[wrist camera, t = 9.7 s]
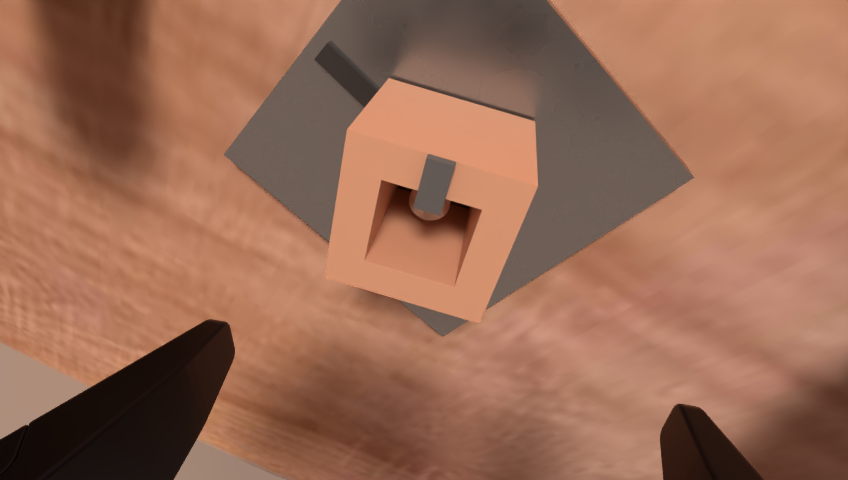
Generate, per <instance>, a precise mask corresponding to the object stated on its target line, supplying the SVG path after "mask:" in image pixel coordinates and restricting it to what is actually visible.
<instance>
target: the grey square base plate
mask: <svg viewBox="0 0 848 480" xmlns="http://www.w3.org/2000/svg"><path fill="white" fill-rule="evenodd" d="M388 78H390V79H394V80H397V81H400V82H404V83H407V84H410V85H414V86H417V87H421V88H424V89H427V90H431V91H434V92H437V93H441V94H444V95H448V96H451V97H454V98H458V99H461V100H465V101H468V102H471V103H475V104H478V105H481V106H485V107H488V108H492V109H495V110H498V111H502V112H505V113H508V114H512V115H515V116H519V117H522V118H525V119H529V120H532V121H535V130H536V152H537V173H538V188H537V190H536V192H535V195H534V197H533V199H532V202H531V204H530V206H529V209H528V211H527V213H526V216H525V218H524V220H523V223H522V225H521V227H520V230H519V232H518V234H517V237H516V239H515V241H514V244H513V246H512V248H511V251H510V253H509V255H508V258H507V260H506V262H505V265H504V267H503V269H502V272H501V274H500V276H499V279H498V281H497V283H496V286H495V288H494V290H493V293H492V295H491V297H490V300H489V302H488V304H487V307H486V309H487V308H489V307H490V306H492V305H493V304H495V303H497V302H498V301H500V300H501V299H503V298H505V297H506V296H508V295H509V294H511V293H512V292H514V291H516V290H517V289H519V288H520V287H522V286H524V285H525V284H527V283H528V282H530V281H531V280H533V279H535V278H536V277H538V276H539V275H541V274H543V273H544V272H546V271H547V270H549V269H550V268H552V267H554V266H555V265H557V264H558V263H560V262H562V261H563V260H565V259H566V258H568V257H569V256H571V255H573V254H574V253H576V252H577V251H579V250H581V249H582V248H584V247H585V246H587V245H588V244H590V243H592V242H593V241H595V240H596V239H598V238H600V237H601V236H603V235H604V234H606V233H607V232H609V231H611V230H612V229H614V228H615V227H617V226H619V225H620V224H622V223H623V222H625V221H626V220H628V219H630V218H631V217H633V216H634V215H636V214H638V213H639V212H641V211H642V210H644V209H645V208H647V207H649V206H650V205H652V204H653V203H655V202H657V201H658V200H660V199H661V198H663V197H664V196H666V195H668V194H669V193H671V192H672V191H674V190H676V189H677V188H679V187H680V186H682V185H683V184H685V183H687V182H688V181H690V180H691V179H693V178H694V177H693V175H692V174H691V172H690V171H689V169H688V167H687V166H686V165H685V163H684V162H683V161H682V160H681V159H680V157H679V156H678V155H677V154H676V153H675V151H674V150H673V149H672V148H671V146H670V145H669V144H668V143H667V142H666V140H665V139H664V138H663V137H662V136H661V134H660V133H659V132H658V131H657V130H656V128H655V127H654V126H653V125H652V124H651V122H650V121H649V120H648V119H647V118H646V116H645V115H644V114H643V113H642V111H641V110H640V109H639V108H638V107H637V105H636V104H635V103H634V102H633V101H632V99H631V98H630V97H629V96H628V95H627V93H626V92H625V91H624V90H623V89H622V87H621V86H620V85H619V84H618V82H617V81H616V80H615V79H614V78H613V76H612V75H611V74H610V73H609V72H608V70H607V69H606V68H605V67H604V66H603V64H602V63H601V62H600V61H599V60H598V58H597V57H596V56H595V55H594V53H593V52H592V51H591V50H590V49H589V47H588V46H587V45H586V44H585V43H584V41H583V40H582V39H581V38H580V37H579V35H578V34H577V33H576V32H575V31H574V29H573V28H572V27H571V26H570V24H569V23H568V22H567V21H566V20H565V18H564V17H563V16H562V15H561V14H560V12H559V11H558V10H557V9H556V8H555V6H554V5H553V4H552V3H551V2H550V0H341V1H340V3H339V4H338V5H337V7H336V8H335V9H334V11H333V12H332V13H331V14H330V16H329V17H328V18H327V20H326V21H325V22H324V24H323V25H322V26H321V28H320V29H319V30H318V32H317V33H316V34H315V35H314V37H313V38H312V39H311V41H310V42H309V43H308V45H307V46H306V47H305V49H304V50H303V51H302V53H301V54H300V55H299V56H298V58H297V59H296V60H295V62H294V63H293V64H292V66H291V67H290V68H289V70H288V71H287V72H286V74H285V75H284V76H283V77H282V79H281V80H280V81H279V83H278V84H277V85H276V87H275V88H274V89H273V91H272V92H271V93H270V95H269V96H268V97H267V98H266V100H265V101H264V102H263V104H262V105H261V106H260V108H259V109H258V110H257V112H256V113H255V114H254V116H253V117H252V118H251V119H250V121H249V122H248V123H247V125H246V126H245V127H244V129H243V130H242V131H241V133H240V134H239V135H238V137H237V138H236V139H235V140H234V142H233V143H232V144H231V146H230V147H229V148H228V150H227V151H226V152H225V154H224V155H225V156H226V157H227V158H228V159H230V160H231V161H232V162H233V163H234V164H236V165H237V166H238V167H239V168H240V169H242V170H243V171H244V172H245V173H246V174H248V175H249V176H250V177H251V178H252V179H254V180H255V181H256V182H257V183H258V184H260V185H261V186H262V187H263V188H264V189H266V190H267V191H268V192H269V193H270V194H272V195H273V196H274V197H275V198H277V199H278V200H279V201H280V202H281V203H283V204H284V205H285V206H286V207H287V208H289V209H290V210H291V211H292V212H293V213H295V214H296V215H297V216H298V217H299V218H301V219H302V220H303V221H304V222H305V223H307V224H308V225H309V226H310V227H311V228H313V229H314V230H315V231H316V232H317V233H319V234H320V235H321V236H322V237H323V238H325V239H326V240H327V241H328V242H330V236H331V229H332V223H333V217H334V210H335V204H336V197H337V191H338V184H339V178H340V171H341V165H342V158H343V152H344V145H345V139H346V132H347V129H348V127H349V126H350V125H351V124H352V123H353V121H354V120H355V119H356V118H357V116H358V115H359V114H360V113H361V112H362V110H363V109H364V108H365V107H366V105H367V104H368V103H369V102H370V101H371V99H372V98H373V97H374V96H375V94H376V93H377V92H378V91H379V89H380V88H381V87H382V86H383V85H384V83H385V82H386V81H387V80H388ZM398 188H399V189H402V190H405V191H409V192H411V194H410V197H409V205H410V208H411V210H412V211H413V212H414V213H415V214H416V215H417V216H418V217H420V218H422V219H425V220H437V219H440V218H442V217H443V216H444V215H446V213H447V212H448V210H449V207H450V204H453V205H456V206H459V207H463V208H466V209H469V208H470V206H467V205H464V204H461V203H457V202H454V201H451V200H447V199H445V202H444V205H443V208H442V212H441V215H436V214H433V213H429V212H426V211H423V210H419V209H416V208H413V207H414V203H415V199H416V196H417V192H418V191H417V190H414V189H410V188H407V187H403V186H400V185H398ZM399 301H400V302H402V303H403V304H404V305H405V306H406V307H408V308H409V309H410V310H411V311H412V312H414V313H415V314H416V315H417V316H418V317H420V318H421V319H422V320H423V321H424V322H426V323H427V324H428V325H429V326H430V327H432V328H433V329H434V330H435V331H436V332H438V333H439V334H440V335H441V336H442V337H443V336H444V335H446V334H448V333H449V332H451V331H452V330H454V329H455V328H457V327H459V326H460V325H462V324H463V323H465V322H467V321H468V320H465V319H462V318H458V317H455V316H452V315H448V314H445V313H441V312H438V311H435V310H431V309H428V308H425V307H421V306H418V305H415V304H411V303H408V302H405V301H401V300H399ZM486 309H485V310H486Z"/></svg>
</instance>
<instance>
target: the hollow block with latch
mask: <svg viewBox="0 0 848 480" xmlns="http://www.w3.org/2000/svg"><path fill="white" fill-rule="evenodd" d="M398 185H400V186H403V187H407V188H410V189H414V190H417V191H418V192H417V196H416V199H415V203H414V207H413V208H416V209H419V210H423V211H426V212H429V213H433V214H436V215H441V212H442V208H443V205H444V202H445V199H447V200H451V201H454V202H457V203H461V204H464V205H467V206H470V208H469V209H466V208H463V207H459V206H456V205H453V204H450V207H449V210H448V212H447V213H446V215H444V216H443V217H442V218H440V219H437V220H425V219H422V218H420V217H418V216H417V215H416V214H415V213H414V212H413V211H412V210H411V208H410V205H409V197H410V194H411V192H409V191H405V190H402V189H399V188H398ZM537 188H538V173H537V152H536V130H535V121H532V120H529V119H525V118H522V117H519V116H515V115H512V114H508V113H505V112H502V111H498V110H495V109H492V108H488V107H485V106H481V105H478V104H475V103H471V102H468V101H465V100H461V99H458V98H454V97H451V96H448V95H444V94H441V93H437V92H434V91H431V90H427V89H424V88H421V87H417V86H414V85H410V84H407V83H404V82H400V81H397V80H394V79H390V78H388V80H387V81H386V82H385V83H384V85H383V86H382V87H381V88H380V89H379V91H378V92H377V93H376V94H375V96H374V97H373V98H372V99H371V101H370V102H369V103H368V104H367V105H366V107H365V108H364V109H363V110H362V112H361V113H360V114H359V115H358V116H357V118H356V119H355V120H354V121H353V123H352V124H351V125H350V126H349V127H348V129H347V132H346V139H345V145H344V152H343V158H342V165H341V171H340V178H339V184H338V191H337V197H336V204H335V210H334V217H333V223H332V229H331V236H330V242H329V249H328V255H327V262H326V268H325V275H324V278H328V279H331V280H334V281H338V282H341V283H344V284H348V285H351V286H354V287H358V288H361V289H365V290H368V291H371V292H375V293H378V294H381V295H385V296H388V297H391V298H395V299H398V300H401V301H405V302H408V303H411V304H415V305H418V306H421V307H425V308H428V309H431V310H435V311H438V312H441V313H445V314H448V315H452V316H455V317H458V318H462V319H465V320H468V321H472V322H475V323H478V324H479V323H480V321H481V319H482V316H483V314H484V311H485V309H486V307H487V304H488V302H489V300H490V297H491V295H492V293H493V290H494V288H495V286H496V283H497V281H498V279H499V276H500V274H501V272H502V269H503V267H504V265H505V262H506V260H507V258H508V255H509V253H510V251H511V248H512V246H513V244H514V241H515V239H516V237H517V234H518V232H519V230H520V227H521V225H522V223H523V220H524V218H525V216H526V213H527V211H528V209H529V206H530V204H531V202H532V199H533V197H534V195H535V192H536V190H537Z"/></svg>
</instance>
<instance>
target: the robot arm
mask: <svg viewBox="0 0 848 480" xmlns="http://www.w3.org/2000/svg"><path fill="white" fill-rule="evenodd" d="M234 355H235V347H234V343H233V338H232V333H231V329H230V325H229V324H228V323H227V322H224V321H218V320H213V319H209V320H206V321H204V322H202V323H201V324H199V325H197V326H195V327H194V328H192V329H190V330H188V331H187V332H185V333H183V334H182V335H180V336H178V337H176V338H175V339H173V340H171V341H169V342H168V343H166V344H164V345H163V346H161V347H159V348H157V349H156V350H154V351H152V352H151V353H149V354H147V355H145V356H144V357H142V358H140V359H138V360H137V361H135V362H133V363H132V364H130V365H128V366H126V367H125V368H123V369H121V370H120V371H118V372H116V373H114V374H113V375H111V376H109V377H107V378H106V379H104V380H102V381H101V382H99V383H97V384H95V385H94V386H92V387H90V388H88V389H87V390H85V391H83V392H82V393H80V394H78V395H77V396H75V397H73V398H71V399H70V400H68V401H66V402H64V403H63V404H61V405H59V406H58V407H56V408H54V409H52V410H51V411H49V412H47V413H45V414H44V415H42V416H40V417H38V418H37V419H35V420H33V421H32V422H30V424H29V426H28V425H25V426H23V427H21V428H19V429H18V430H16V431H14V432H12V433H11V434H9V435H7V436H6V437H4V438H2V439H0V480H174V478H175V476H176V474H177V473H178V471H179V469H180V467H181V466H182V464H183V462H184V461H185V459H186V457H187V455H188V454H189V452H190V450H191V448H192V447H193V445H194V443H195V441H196V440H197V438H198V436H199V434H200V432H201V430H202V429H203V427H204V425H205V423H206V421H207V418H208V416H209V414H210V412H211V410H212V407H213V405H214V403H215V400H216V398H217V396H218V394H219V391H220V389H221V387H222V385H223V382H224V380H225V378H226V375H227V373H228V371H229V369H230V366H231V364H232V362H233V359H234ZM660 446H661V458H662V469H663V480H764V479H763V478H762V477H761V476H760V475H759V474H758V473H757V471H756V470H755V469H754V468H753V467H752V466H751V464H750V463H749V462H748V461H747V460H746V459H745V458H744V456H743V455H742V454H741V453H740V452H739V451H738V450H737V448H736V447H735V446H734V445H733V444H732V443H731V442H730V440H729V439H728V438H727V437H726V436H725V435H724V433H723V432H722V431H721V430H720V429H719V428H718V427H717V425H716V424H715V423H714V422H713V421H712V420H711V419H710V417H709V416H708V415H707V414H706V413H705V412H704V411H703V410H702V409H701V408H699V407H696V406H691V405H685V404H677V405H675V406H674V408H673V409H672V411H671V413H670V415H669V417H668V418H667V420H666V422H665V424H664V426H663V428H662V430H661V434H660Z"/></svg>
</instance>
